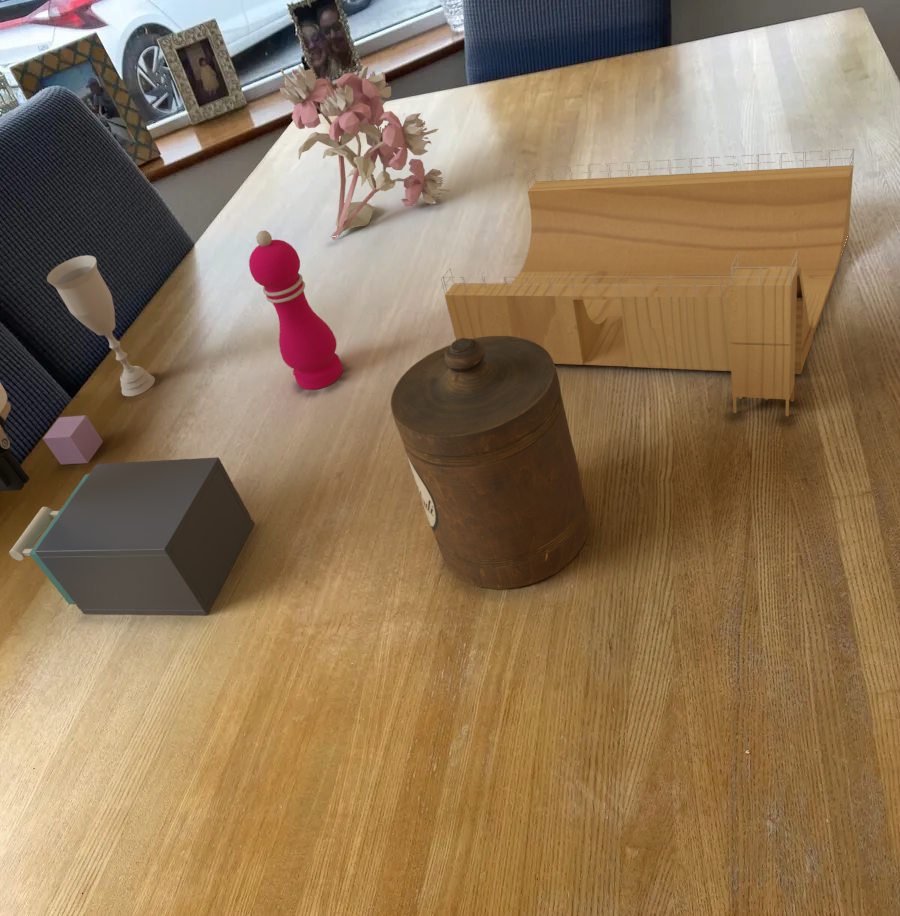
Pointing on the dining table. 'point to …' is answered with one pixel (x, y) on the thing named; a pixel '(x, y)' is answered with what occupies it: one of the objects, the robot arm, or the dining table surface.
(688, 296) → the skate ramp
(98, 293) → the chalice
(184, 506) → the cabinet
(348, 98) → the flower
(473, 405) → the wooden container
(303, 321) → the pepper mill
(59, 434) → the pink cube
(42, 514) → the drawer
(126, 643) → the dining table surface
